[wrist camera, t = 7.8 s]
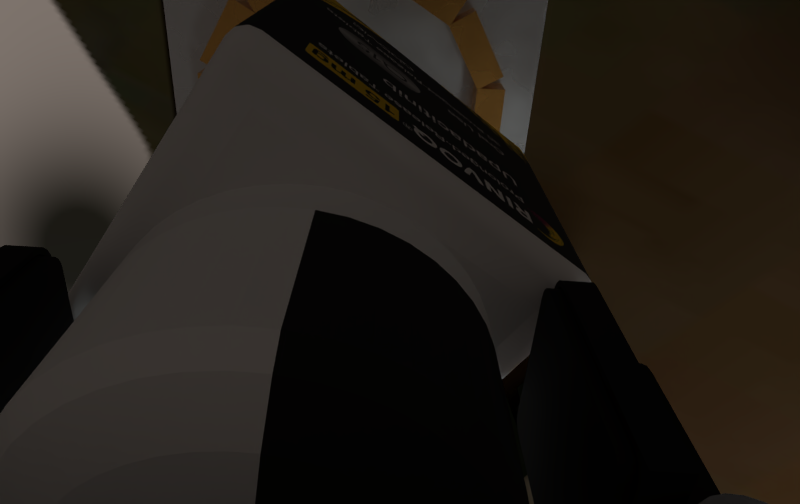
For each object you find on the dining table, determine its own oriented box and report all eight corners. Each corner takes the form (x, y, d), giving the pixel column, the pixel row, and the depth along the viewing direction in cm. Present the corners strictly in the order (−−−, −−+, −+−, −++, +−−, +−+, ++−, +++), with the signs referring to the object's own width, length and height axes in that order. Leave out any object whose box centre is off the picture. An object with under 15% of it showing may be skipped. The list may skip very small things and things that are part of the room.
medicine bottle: (527, 151, 16) (761, 575, 6) (370, 323, 19) (333, 824, 8) (305, -27, 14) (38, 129, 4) (164, 195, 17) (-223, 650, 6)
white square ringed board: (556, -83, 24) (568, -84, 23) (503, 262, 32) (509, 282, 30) (157, -108, 24) (137, -111, 22) (198, 248, 32) (186, 267, 30)
